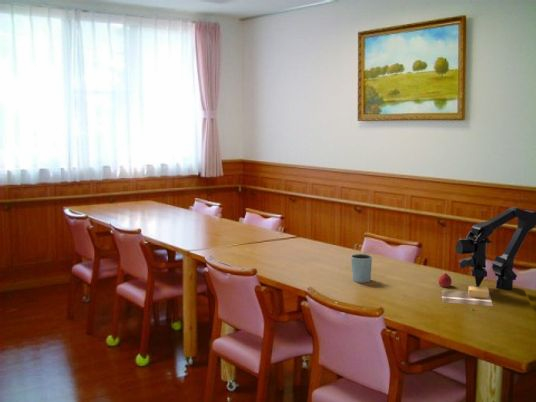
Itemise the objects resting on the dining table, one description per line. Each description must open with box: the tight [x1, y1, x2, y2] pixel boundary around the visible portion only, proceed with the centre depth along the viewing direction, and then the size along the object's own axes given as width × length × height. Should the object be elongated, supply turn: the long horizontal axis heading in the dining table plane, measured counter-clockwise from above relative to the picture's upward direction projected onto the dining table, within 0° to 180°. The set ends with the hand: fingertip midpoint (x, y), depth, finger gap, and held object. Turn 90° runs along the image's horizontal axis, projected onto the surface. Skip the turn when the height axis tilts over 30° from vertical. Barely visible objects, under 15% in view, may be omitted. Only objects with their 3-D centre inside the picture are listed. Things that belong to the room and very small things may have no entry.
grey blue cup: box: [350, 253, 373, 284], centre depth 285 cm, size 10×10×12 cm
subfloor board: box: [441, 289, 493, 307], centre depth 253 cm, size 20×18×2 cm
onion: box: [437, 271, 453, 288], centre depth 270 cm, size 6×6×8 cm
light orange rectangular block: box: [467, 285, 490, 298], centre depth 256 cm, size 8×6×3 cm
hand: (477, 286), depth 263 cm, fingers closed
